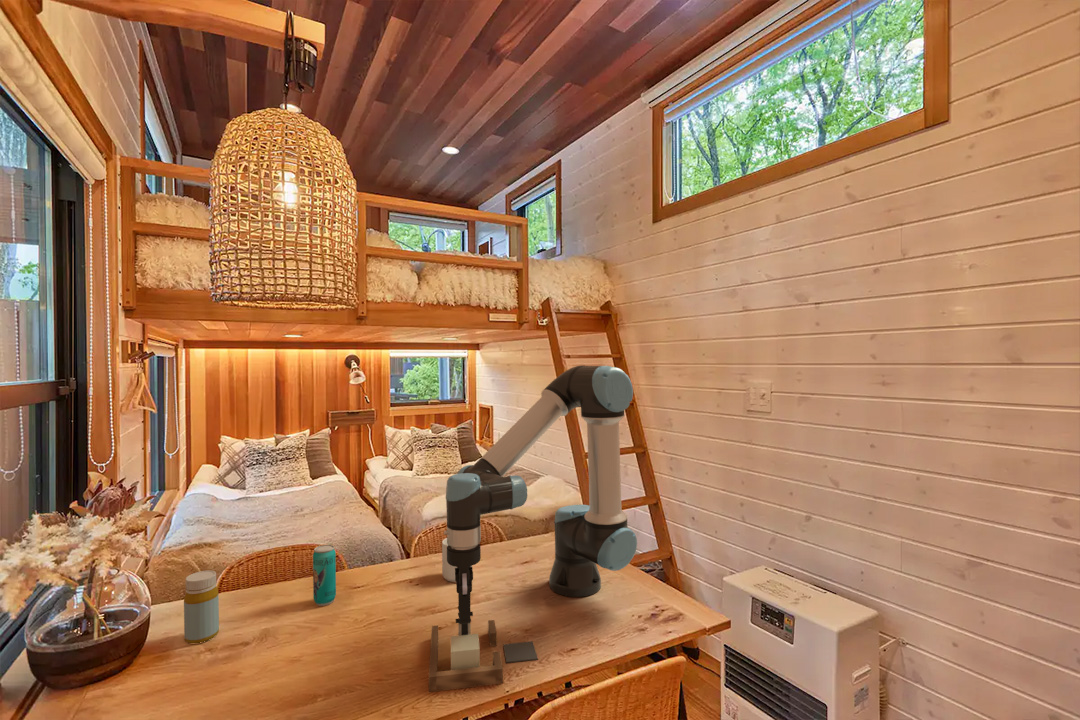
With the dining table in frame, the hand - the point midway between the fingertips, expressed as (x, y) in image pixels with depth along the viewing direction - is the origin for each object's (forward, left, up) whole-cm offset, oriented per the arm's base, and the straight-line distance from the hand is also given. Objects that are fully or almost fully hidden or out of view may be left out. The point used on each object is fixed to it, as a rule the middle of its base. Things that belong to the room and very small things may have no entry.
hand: (464, 647), depth 117 cm
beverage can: (+37, -33, -2) cm, 50 cm away
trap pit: (-13, +1, -2) cm, 13 cm away
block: (0, +5, -2) cm, 5 cm away
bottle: (+62, -20, -2) cm, 66 cm away
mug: (+1, -44, -2) cm, 44 cm away
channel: (0, +1, -2) cm, 2 cm away
